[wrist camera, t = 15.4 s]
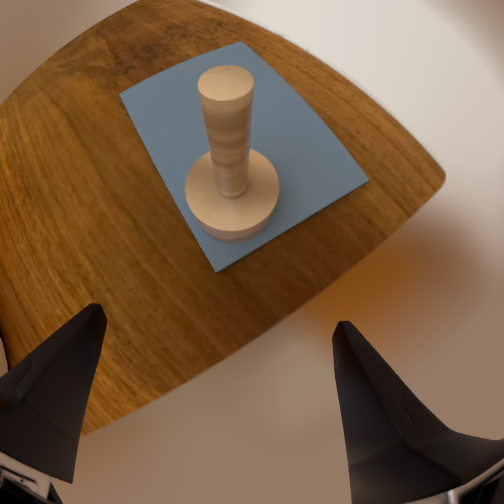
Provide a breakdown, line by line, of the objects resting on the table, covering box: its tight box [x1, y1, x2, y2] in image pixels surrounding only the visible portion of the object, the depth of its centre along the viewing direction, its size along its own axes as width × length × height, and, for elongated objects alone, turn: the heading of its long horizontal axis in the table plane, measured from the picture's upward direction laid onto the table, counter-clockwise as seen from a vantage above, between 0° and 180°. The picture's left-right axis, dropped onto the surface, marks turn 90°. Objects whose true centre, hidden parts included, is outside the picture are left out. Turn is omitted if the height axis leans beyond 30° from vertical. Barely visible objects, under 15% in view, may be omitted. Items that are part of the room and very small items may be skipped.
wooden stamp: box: [185, 65, 280, 244], centre depth 13 cm, size 6×6×12 cm
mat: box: [119, 41, 369, 273], centre depth 21 cm, size 20×14×1 cm
